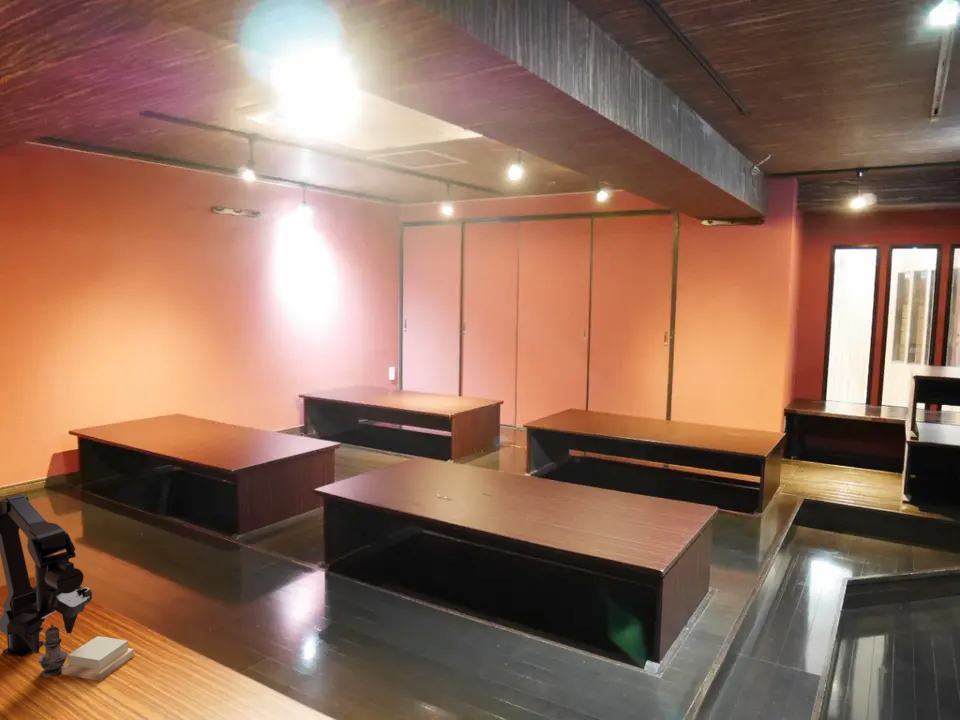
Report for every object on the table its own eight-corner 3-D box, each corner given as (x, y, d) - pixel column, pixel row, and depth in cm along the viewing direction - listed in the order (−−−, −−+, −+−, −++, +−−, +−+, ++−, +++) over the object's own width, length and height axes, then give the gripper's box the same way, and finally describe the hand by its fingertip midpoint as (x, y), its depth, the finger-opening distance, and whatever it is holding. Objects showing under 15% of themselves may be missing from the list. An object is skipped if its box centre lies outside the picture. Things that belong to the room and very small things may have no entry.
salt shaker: (53, 679, 152) (51, 631, 151) (33, 676, 153) (31, 628, 152) (73, 666, 158) (72, 619, 157) (54, 662, 159) (52, 616, 158)
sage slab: (68, 664, 155) (68, 654, 155) (98, 645, 164) (97, 635, 164) (99, 670, 153) (99, 660, 153) (128, 650, 162) (127, 640, 162)
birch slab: (61, 676, 154) (61, 667, 154) (97, 652, 165) (97, 643, 165) (100, 683, 152) (100, 673, 152) (134, 658, 163) (134, 648, 163)
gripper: (43, 603, 142) (47, 669, 144) (109, 569, 161) (111, 627, 162) (3, 597, 145) (6, 662, 146) (72, 564, 163) (74, 622, 165)
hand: (53, 642), depth 155 cm, fingers open, 9 cm apart
